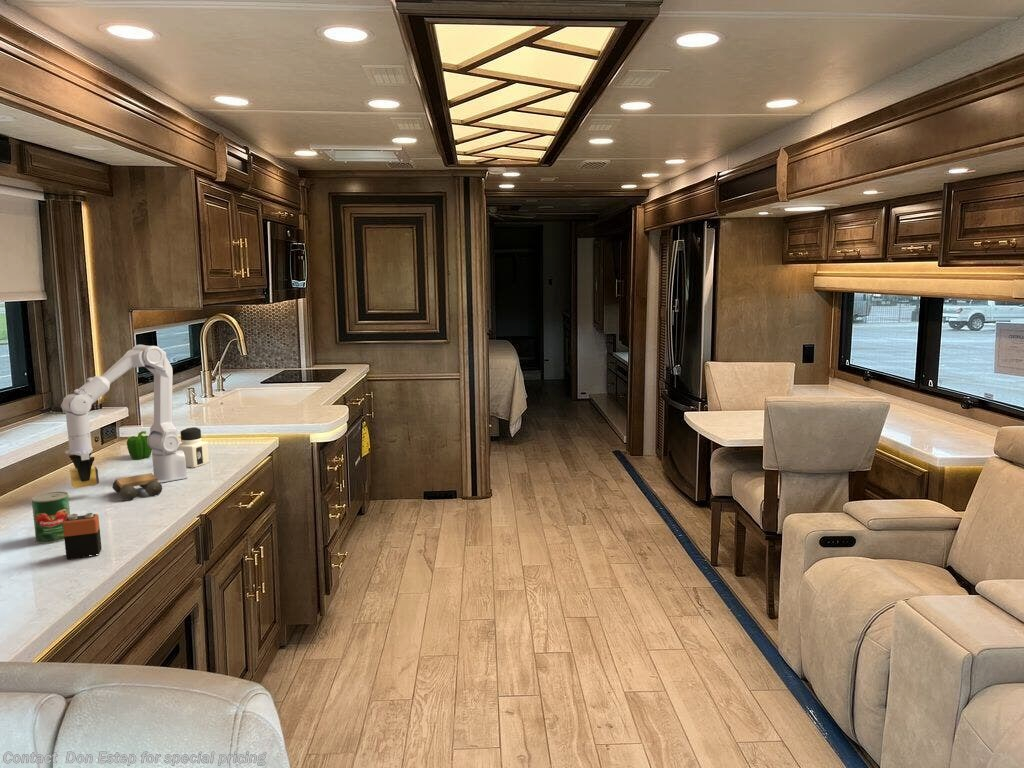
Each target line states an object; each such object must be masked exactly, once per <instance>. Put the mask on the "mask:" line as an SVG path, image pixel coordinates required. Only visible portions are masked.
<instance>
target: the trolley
mask: <svg viewBox="0 0 1024 768" xmlns="http://www.w3.org/2000/svg"><path fill="white" fill-rule="evenodd" d="M138 486H139V487H140V488H141V489H143V490H145V492H146V493H147V494H148V495H149V496H151V497H155V496H154V495H157V496H159V495H160V494H161V493H162V491H163V485H162V483H159V482H158V478H157V477H155V476H154V473H152V472H151V473H150V472H149V473H143V474H139V475H130V476H125V477H119V478H115V480H114V481H113V482H112V489H113V490H114V492H115V493H117V494H119V497H120V499H122V500H123V501H127V500H130V501H133V500H135V498H136V497H137V494H138V493H137V488H135V487H138ZM127 502H128V501H127Z"/></svg>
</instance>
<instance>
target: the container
mask: <svg viewBox="0 0 1024 768" xmlns="http://www.w3.org/2000/svg"><path fill="white" fill-rule="evenodd" d="M179 432H180V433H179V434H180V445H179V447H178V449H177V451H179V450H182V451H183V452H184V455H185V460H186V468H188V467H191V468H190V469H194V467H195V468H197V466H198V467H201V466H204V465H207V464H210V455H209V454H210V453H209V442H208V441H204V440H202V433H201V432H202V431H201V428H200V427H186V428H185V427H184V428H182V429H181V430H180V431H179Z"/></svg>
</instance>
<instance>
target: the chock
mask: <svg viewBox="0 0 1024 768" xmlns="http://www.w3.org/2000/svg"><path fill="white" fill-rule="evenodd" d="M69 473H70V482H71V483H70V484H71V487H72V488H73V489H78V488H84V487H90V486H96V485H98V484H100V479H99V471H98V467H96V466H94V465H92V467H91V474H90V480H89V481H83V482H82V481H81V480H80V477H79V473H78V470H77V468H75V467H74V468H70V469H69Z"/></svg>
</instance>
